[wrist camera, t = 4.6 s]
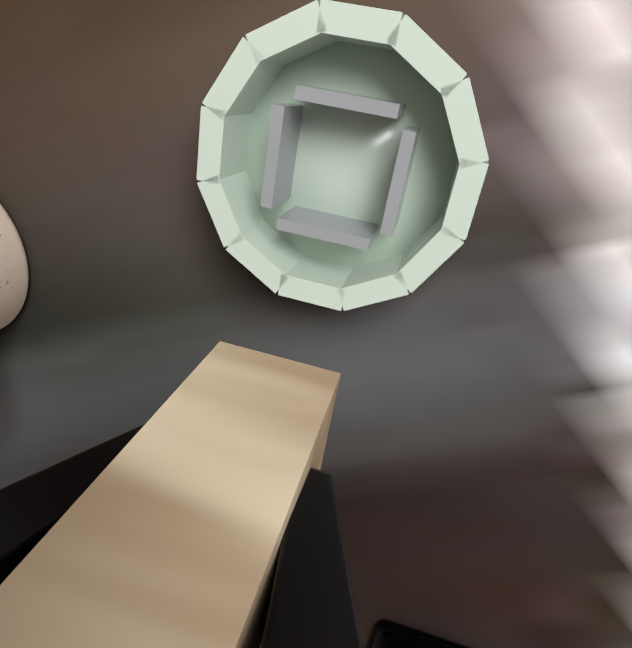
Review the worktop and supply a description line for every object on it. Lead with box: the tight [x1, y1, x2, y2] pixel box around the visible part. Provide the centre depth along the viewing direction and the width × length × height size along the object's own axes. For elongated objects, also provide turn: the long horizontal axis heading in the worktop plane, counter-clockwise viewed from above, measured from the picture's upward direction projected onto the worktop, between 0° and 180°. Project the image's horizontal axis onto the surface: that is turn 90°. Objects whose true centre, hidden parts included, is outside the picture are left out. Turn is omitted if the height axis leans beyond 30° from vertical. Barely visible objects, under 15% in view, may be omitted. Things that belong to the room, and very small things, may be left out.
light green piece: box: [197, 0, 489, 311], centre depth 17 cm, size 9×9×3 cm
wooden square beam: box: [0, 341, 341, 648], centre depth 7 cm, size 2×2×8 cm
